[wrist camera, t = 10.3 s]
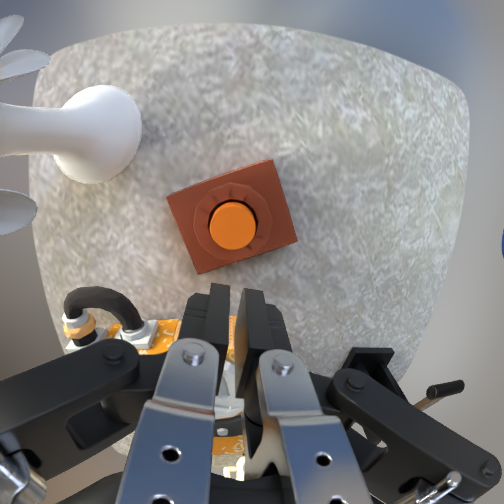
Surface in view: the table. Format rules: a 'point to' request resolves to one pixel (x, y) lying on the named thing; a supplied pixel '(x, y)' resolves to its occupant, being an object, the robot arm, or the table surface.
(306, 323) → the table surface
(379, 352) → the bracket
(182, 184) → the table surface
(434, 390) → the lever
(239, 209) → the button
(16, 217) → the flower vase
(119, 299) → the device
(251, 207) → the block
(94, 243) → the table surface
